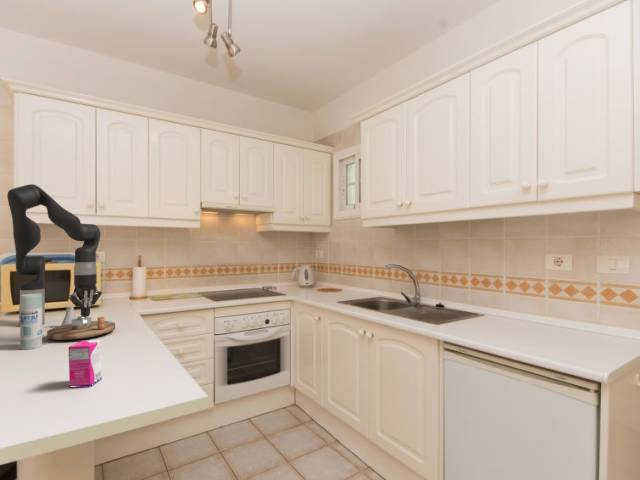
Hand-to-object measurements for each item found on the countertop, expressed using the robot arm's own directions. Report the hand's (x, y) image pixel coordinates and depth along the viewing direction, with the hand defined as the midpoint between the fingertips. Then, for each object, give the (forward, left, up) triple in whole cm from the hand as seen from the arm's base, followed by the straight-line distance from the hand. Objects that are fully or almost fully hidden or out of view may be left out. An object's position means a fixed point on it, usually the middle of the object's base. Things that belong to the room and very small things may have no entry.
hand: (85, 316), depth 137 cm
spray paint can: (-12, -12, -10) cm, 20 cm away
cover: (-11, +6, -7) cm, 14 cm away
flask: (-29, +14, -10) cm, 34 cm away
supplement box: (+40, -29, -10) cm, 51 cm away
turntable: (-11, +7, -9) cm, 16 cm away
